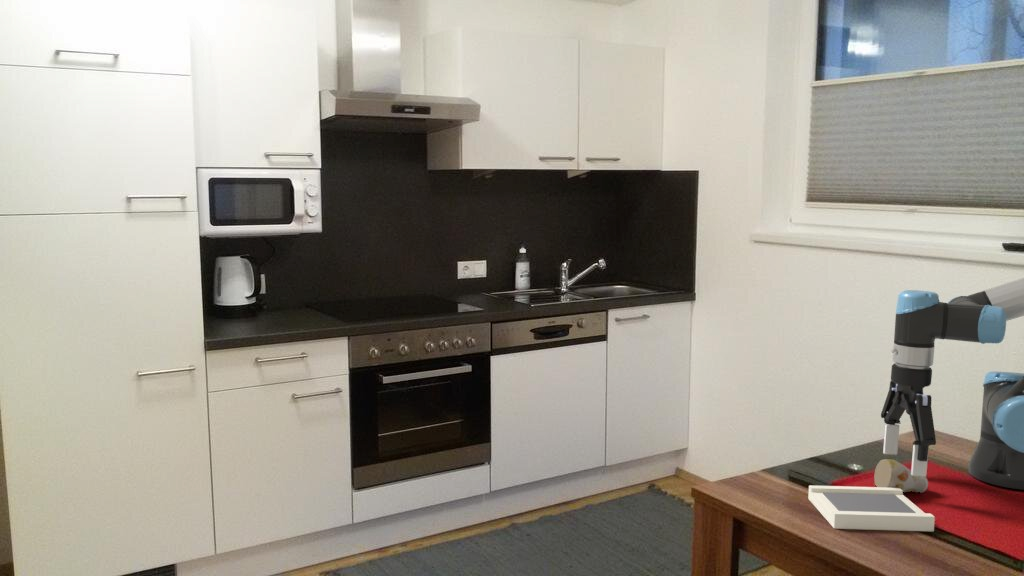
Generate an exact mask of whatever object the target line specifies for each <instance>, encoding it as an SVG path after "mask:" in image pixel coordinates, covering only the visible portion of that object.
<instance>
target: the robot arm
mask: <svg viewBox="0 0 1024 576" xmlns="http://www.w3.org/2000/svg"><path fill="white" fill-rule="evenodd" d="M1021 317H1024V277H1022V278H1019V279H1017V280H1012V281H1010V282H1007V283H1004V284H1000V285H997V286H994V287H991V288H988V289H984V290H982V291H978V292H976V293H973V294H969V295H960V296H955V297H954V298H952V299H950V300H949V301H948V302H943V301H940V299H939V294H938V293H937V292H935V291H929V290H928V291H927V290H914V289H910V290H907V289H906V290H902V291H901V292H899V294H898V296H897V302H896V310H895V320H894V321H895V322H894V334H893V335H894V337H893V348H891V350H890V351H891V353H892V362H894V363H893V364H892V365H891V370H890V371H891V373H890V374H891V375H890V381H889V388H888V391H887V396H886V398H885V401H884V405H883V407H882V411H881V414H880V417H881V419H883V422H884V423H885V426H884V428H885V429H884V439H883V449H882V450H883V451H882V453H883V454H884V455H896V456H897V455H898V449H899V439H900V438H899V436H900V424H901V420H900V419H901V418H902V416H903V414H904V413H905V412H906V414H907V415H909V419H910V422H911V427H912V430H913V435H914V439H915V440H914V441H913V442H912V445H913V447H912V454H911V455H912V457H911V458H912V459H911V467H910V468H911V469H910V470H911V475H912V476H925V477H927V470H928V460H929V448H930V446H936V445H937V439H936V433H935V432H936V431H935V425H934V418H933V417H934V416H933V410H932V396H931V395H929V394H924V388H926V387H930V386H931V385H932V378H933V377H932V376H933V375H932V374H933V368H932V366H933V364H934V358H935V357H934V356H935V340H937V339H939V340H947V341H948V340H949V341H958V342H959V341H961V342H969V343H981V344H999V343H1000V344H1001V343H1002V342H1003V340H1004V339H1005V334H1006V330H1007V322H1009V321H1012V320H1014V319H1018V318H1021ZM983 380H984V381H983V383H982V387H983V395H982V408H981V409H982V410H981V422H980V433H979V434H980V435H979V440H978V443H977V445H976V446H975V449H974V451H973V454H972V455H971V457H970V460H968V473H969V475H971V476H972V477H974V479H977V480H979V481H981V482H984V483H987V484H991V485H993V486H998V487H1002V488H1009V489H1014V490H1015V489H1017V490H1024V373H1022V372H1021V373H1020V372H1012V371H1011V372H1009V371H988V372H987V373H986V374H985V376H984V379H983Z"/></svg>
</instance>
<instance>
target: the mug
mask: <svg viewBox="0 0 1024 576" xmlns="http://www.w3.org/2000/svg"><path fill="white" fill-rule="evenodd" d="M873 480H874V486H875V485H876V486H877V487H888V488H900V489H901V490H903V492H904V493H908V492H911V491H912V492H914V493H918V492H920V494H922V493H924V492H926V491H927V489H928V486H929V480H928V477H927V476H912V475H911V469H909V467H907V466H905V465H904V464H902V463H900V461H897V460H895V459H890V458H889V459H888V458H885V459H884V458H883V459H881V460H879V462H877V465H876V467H875V470H874V475H873Z"/></svg>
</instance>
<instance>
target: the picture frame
mask: <svg viewBox="0 0 1024 576" xmlns="http://www.w3.org/2000/svg"><path fill="white" fill-rule="evenodd" d="M807 496H808V498H807V499H808V500H809V501H810V503H811V504H812V505H813V506H814V507H815V508H816V509H817V510H818V512H820V514H821V515H822V516H823V518H824V519H825V520H827V522H828V523H829V524H830V526H832V528H833V529H838V530H839V529H840V530H842V529H843V530H865V531H867V530H870V531H872V530H874V531H875V530H876V531H904V532H905V531H907V532H909V531H910V532H934V531H935V523H936V522H935V520H936V517H935V516H934V515H933V514H932V513H925V512H924V511H923V510H922V509H921V508H919V506H917V505H916V504H915V503H913V502H912V501H911V500H910V499H909V498H908V497H906V495H904V493H903V490H901V489H900V488H888V487H875V486H843V485H842V486H841V485H811V484H810V485H808V495H807Z"/></svg>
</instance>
